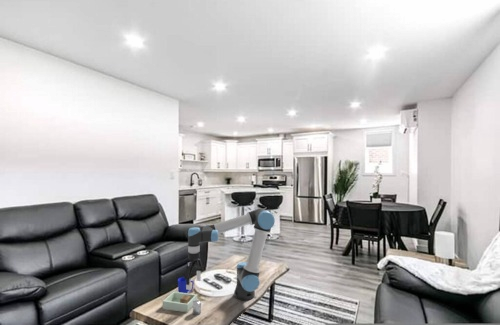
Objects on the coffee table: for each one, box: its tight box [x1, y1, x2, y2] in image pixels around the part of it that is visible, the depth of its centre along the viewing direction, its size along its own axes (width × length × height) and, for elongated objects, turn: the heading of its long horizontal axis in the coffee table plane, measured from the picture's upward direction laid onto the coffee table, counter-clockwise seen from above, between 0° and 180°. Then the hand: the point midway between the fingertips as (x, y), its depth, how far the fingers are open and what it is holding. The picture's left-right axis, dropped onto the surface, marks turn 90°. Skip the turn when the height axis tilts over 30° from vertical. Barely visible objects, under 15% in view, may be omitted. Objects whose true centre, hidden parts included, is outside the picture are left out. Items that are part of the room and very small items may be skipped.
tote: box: [162, 291, 198, 313], centre depth 176 cm, size 18×14×5 cm
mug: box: [177, 276, 194, 293], centre depth 194 cm, size 8×12×10 cm
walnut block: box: [180, 295, 191, 304], centre depth 175 cm, size 5×5×5 cm
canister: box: [192, 299, 202, 316], centre depth 166 cm, size 5×5×7 cm
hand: (193, 284), depth 170 cm, fingers open, 13 cm apart
